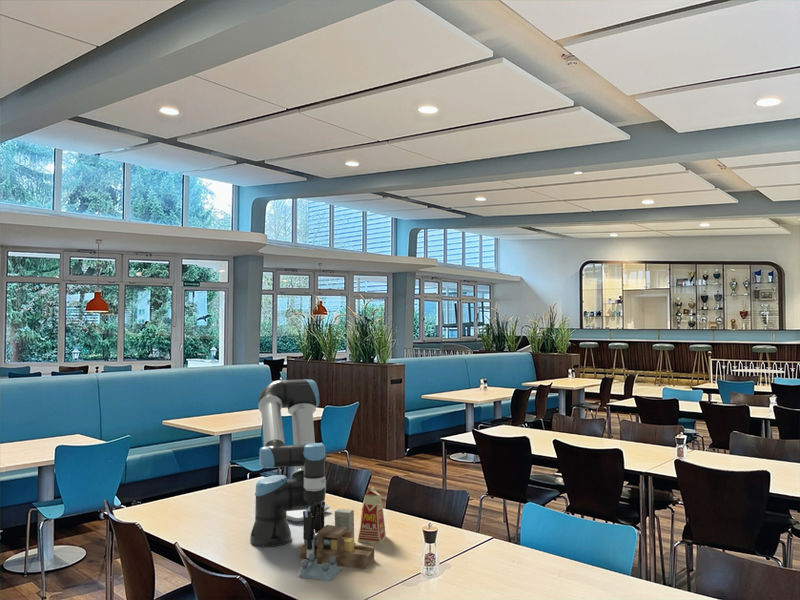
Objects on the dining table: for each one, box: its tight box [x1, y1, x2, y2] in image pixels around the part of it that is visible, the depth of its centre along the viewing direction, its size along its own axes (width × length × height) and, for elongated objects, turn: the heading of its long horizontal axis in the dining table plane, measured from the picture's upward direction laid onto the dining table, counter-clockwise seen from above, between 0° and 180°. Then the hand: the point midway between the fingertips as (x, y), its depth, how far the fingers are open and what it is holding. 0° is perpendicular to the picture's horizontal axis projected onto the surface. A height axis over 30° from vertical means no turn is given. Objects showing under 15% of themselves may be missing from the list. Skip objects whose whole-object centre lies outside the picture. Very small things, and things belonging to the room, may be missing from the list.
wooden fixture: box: [298, 524, 375, 570], centre depth 221 cm, size 26×8×10 cm, turn 73°
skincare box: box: [334, 508, 355, 539], centre depth 237 cm, size 6×4×12 cm
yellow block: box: [331, 537, 355, 552], centre depth 220 cm, size 7×4×4 cm, turn 73°
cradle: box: [298, 554, 342, 582], centre depth 209 cm, size 11×9×5 cm
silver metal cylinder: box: [303, 532, 333, 549], centre depth 222 cm, size 10×5×5 cm, turn 73°
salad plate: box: [286, 504, 331, 523], centre depth 272 cm, size 21×21×3 cm
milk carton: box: [357, 486, 386, 545], centre depth 242 cm, size 9×9×20 cm
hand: (314, 555), depth 223 cm, fingers closed on silver metal cylinder, 5 cm apart
